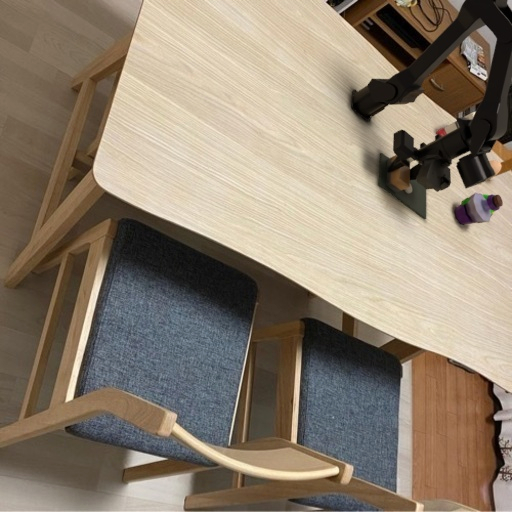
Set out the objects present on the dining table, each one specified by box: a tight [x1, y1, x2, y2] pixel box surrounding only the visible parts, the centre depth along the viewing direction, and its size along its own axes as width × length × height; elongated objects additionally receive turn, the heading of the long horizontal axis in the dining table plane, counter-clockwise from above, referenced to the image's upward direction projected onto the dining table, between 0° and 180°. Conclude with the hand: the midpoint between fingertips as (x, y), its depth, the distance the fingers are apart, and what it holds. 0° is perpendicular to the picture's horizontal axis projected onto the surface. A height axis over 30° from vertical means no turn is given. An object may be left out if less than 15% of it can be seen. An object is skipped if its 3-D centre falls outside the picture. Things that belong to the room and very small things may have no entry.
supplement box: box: [493, 157, 512, 178], centre depth 174 cm, size 3×3×10 cm
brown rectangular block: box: [386, 154, 411, 193], centre depth 139 cm, size 4×8×4 cm, turn 169°
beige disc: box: [404, 184, 412, 193], centre depth 143 cm, size 3×3×1 cm
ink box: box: [436, 111, 476, 137], centre depth 164 cm, size 8×5×12 cm, turn 123°
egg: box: [486, 160, 501, 181], centre depth 170 cm, size 5×5×8 cm
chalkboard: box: [377, 152, 427, 220], centre depth 143 cm, size 18×10×1 cm, turn 79°
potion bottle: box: [453, 192, 504, 226], centre depth 154 cm, size 9×9×12 cm
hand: (393, 175), depth 140 cm, fingers closed on brown rectangular block, 4 cm apart
